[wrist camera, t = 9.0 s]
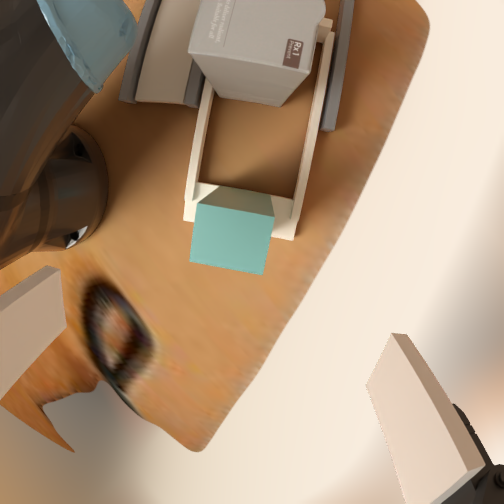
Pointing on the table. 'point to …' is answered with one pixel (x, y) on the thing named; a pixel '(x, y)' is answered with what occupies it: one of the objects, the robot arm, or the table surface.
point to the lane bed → (198, 76)
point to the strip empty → (168, 54)
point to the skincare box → (256, 46)
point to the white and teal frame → (247, 193)
